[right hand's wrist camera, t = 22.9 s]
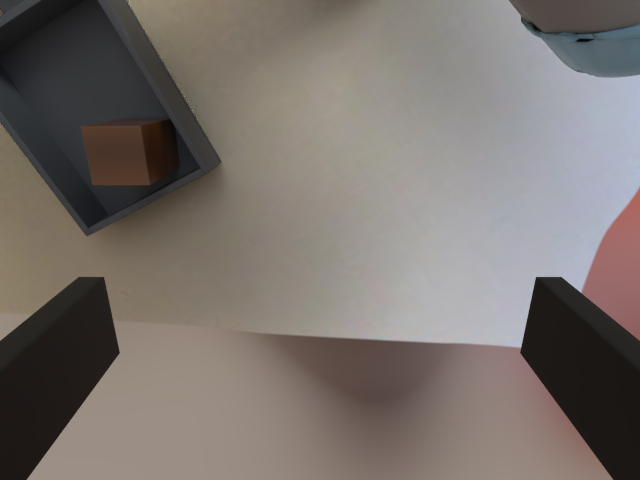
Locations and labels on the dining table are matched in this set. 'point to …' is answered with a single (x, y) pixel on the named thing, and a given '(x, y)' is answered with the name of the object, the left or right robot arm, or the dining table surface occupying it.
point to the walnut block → (130, 150)
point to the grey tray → (89, 99)
